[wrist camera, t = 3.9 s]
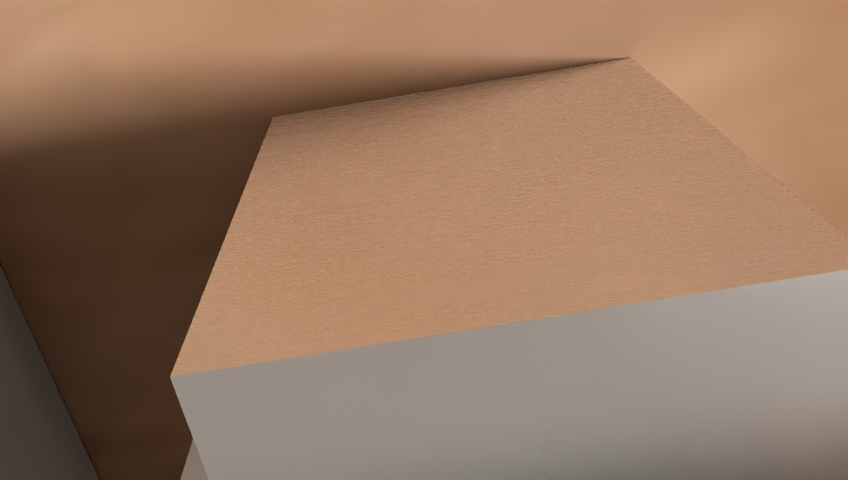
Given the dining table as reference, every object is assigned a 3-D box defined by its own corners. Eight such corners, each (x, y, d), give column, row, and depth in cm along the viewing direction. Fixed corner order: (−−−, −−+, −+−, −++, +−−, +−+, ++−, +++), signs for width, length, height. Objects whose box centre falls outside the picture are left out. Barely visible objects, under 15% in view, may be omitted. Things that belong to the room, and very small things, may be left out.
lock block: (273, 115, 11) (170, 377, 5) (629, 56, 11) (878, 264, 5) (376, 523, 14) (375, 921, 9) (643, 483, 14) (801, 862, 9)
